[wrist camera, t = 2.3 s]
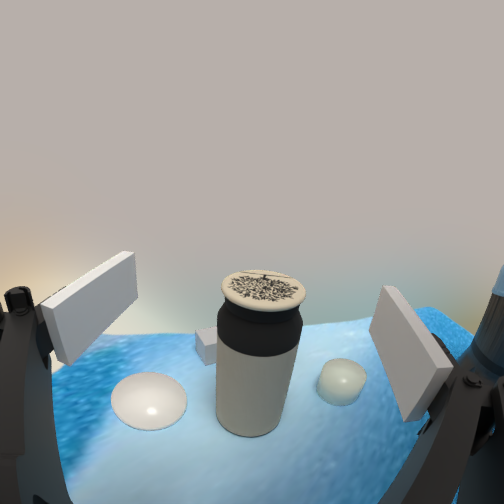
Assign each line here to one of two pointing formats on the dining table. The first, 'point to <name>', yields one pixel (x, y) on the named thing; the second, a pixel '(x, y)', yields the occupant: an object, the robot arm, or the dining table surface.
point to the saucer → (149, 401)
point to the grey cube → (207, 344)
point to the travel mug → (256, 349)
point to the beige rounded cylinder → (341, 382)
